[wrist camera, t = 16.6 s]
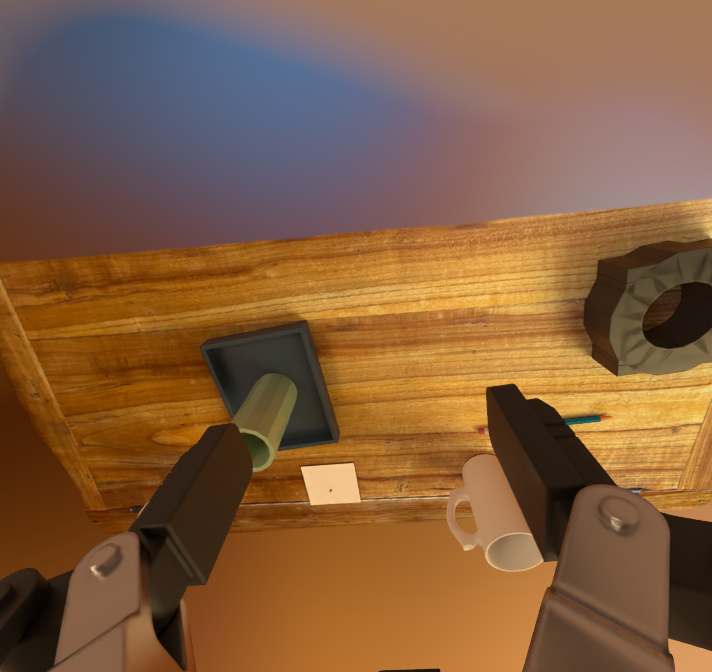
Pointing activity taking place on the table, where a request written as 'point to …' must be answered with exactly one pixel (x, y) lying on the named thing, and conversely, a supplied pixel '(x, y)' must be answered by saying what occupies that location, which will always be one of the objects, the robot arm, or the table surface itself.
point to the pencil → (567, 422)
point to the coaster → (331, 484)
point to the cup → (266, 417)
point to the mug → (493, 517)
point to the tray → (283, 356)
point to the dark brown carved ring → (632, 299)
